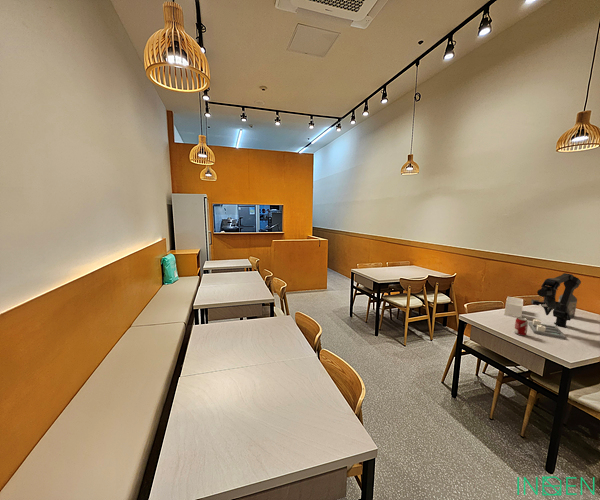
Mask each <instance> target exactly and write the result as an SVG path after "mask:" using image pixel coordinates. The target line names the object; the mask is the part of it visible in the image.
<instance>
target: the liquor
mask: <svg viewBox="0 0 600 500" xmlns="http://www.w3.org/2000/svg"><path fill="white" fill-rule="evenodd" d="M562 295H563V293H562V294H560V295H559V296H558V301H557V302H560V301H561V298H562ZM577 303H578V298H577V297H576V296H575V295H574V293H573V294H572V297H571V300H570V303H569V306H568V308H569V311H570V312H569V314H570V315H571V319H572V318H575V315H576V310H577Z"/></svg>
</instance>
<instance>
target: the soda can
mask: <svg viewBox="0 0 600 500" xmlns="http://www.w3.org/2000/svg"><path fill="white" fill-rule="evenodd" d="M528 323H529V321H528V319H527V318H525V317H522V316H521V317H517V318H516V319H515V323H514V329H513V333H515V334H516V335H518V336H527V332H528V327H529V324H528Z"/></svg>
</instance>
